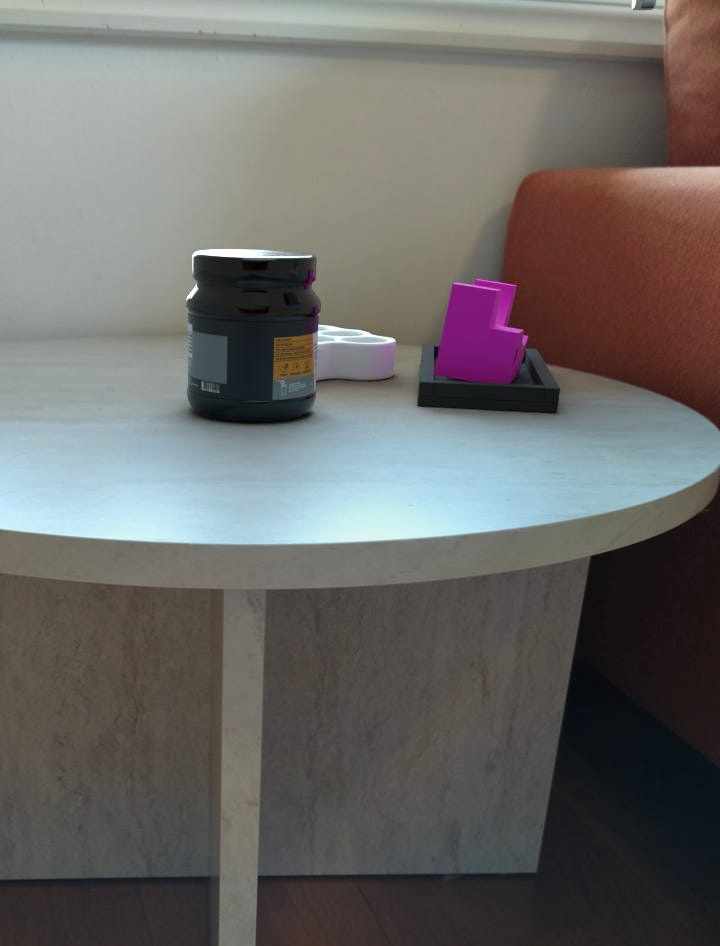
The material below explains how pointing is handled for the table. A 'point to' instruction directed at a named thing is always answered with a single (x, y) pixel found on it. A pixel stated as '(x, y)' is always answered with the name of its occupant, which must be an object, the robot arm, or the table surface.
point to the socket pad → (489, 387)
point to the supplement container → (252, 334)
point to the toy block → (481, 334)
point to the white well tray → (353, 355)
